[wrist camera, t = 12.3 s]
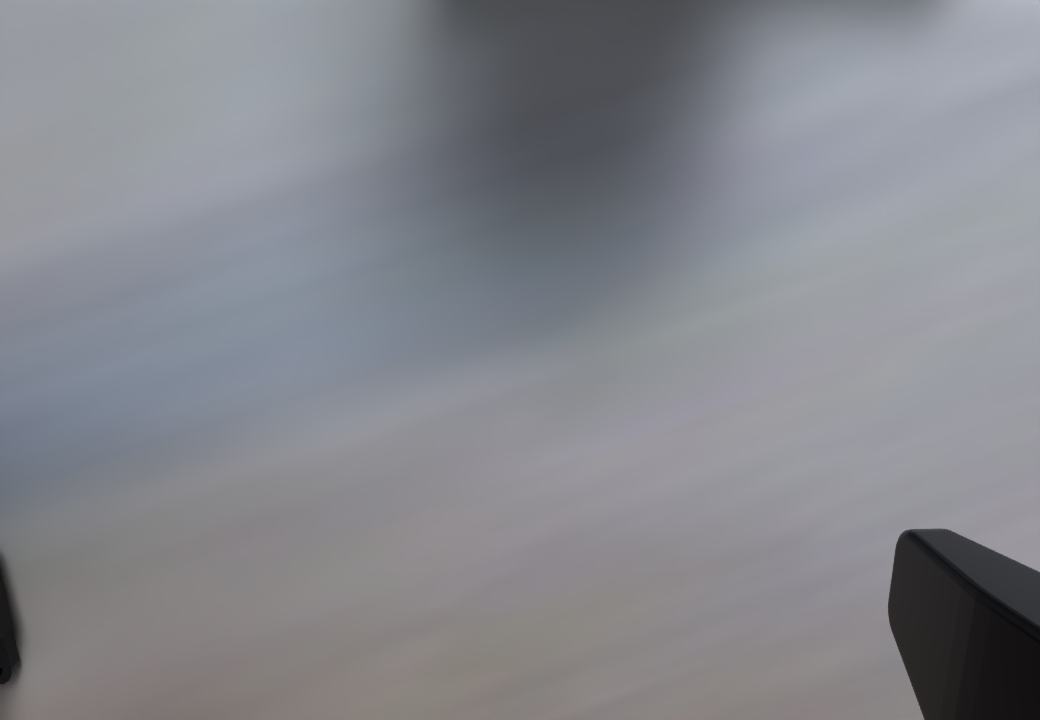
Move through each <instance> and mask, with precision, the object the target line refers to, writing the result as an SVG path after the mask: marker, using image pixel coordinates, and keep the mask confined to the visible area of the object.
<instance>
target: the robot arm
mask: <svg viewBox="0 0 1040 720" xmlns="http://www.w3.org/2000/svg"><path fill="white" fill-rule="evenodd" d="M888 615H889V622H890V626H891V630H892V633H893V635H894V638H895V641H896V643H897V646H898V649H899V652H900V654H901V657H902V660H903V663H904V665H905V668H906V671H907V673H908V676H909V679H910V682H911V684H912V687H913V690H914V692H915V695H916V698H917V701H918V703H919V706H920V709H921V711H922V714H923V717H924V720H1040V572H1038V571H1036V570H1034V569H1032V568H1030V567H1028V566H1025V565H1023V564H1021V563H1019V562H1017V561H1015V560H1013V559H1010V558H1008V557H1006V556H1004V555H1002V554H1000V553H998V552H995V551H993V550H991V549H989V548H987V547H985V546H982V545H980V544H978V543H976V542H974V541H972V540H970V539H967V538H965V537H963V536H961V535H959V534H957V533H955V532H952V531H950V530H947V529H910V530H906V531H904V532H903V533H902V534H901V535H900V536H899V539H898V541H897V544H896V549H895V557H894V564H893V571H892V579H891V586H890V593H889V601H888ZM11 625H12V621H11V617H10V613H9V609H8V606H7V602H6V598H5V594H4V591H3V587H2V583H1V579H0V666H1V667H0V684H4V683H6V682H7V681H9V680H10V678H11V677H12V676H13V674H14V673H15V672H16V670H17V669H18V667H19V657H18V653H17V649H16V646H15V642H14V638H13V634H12V631H11Z"/></svg>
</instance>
